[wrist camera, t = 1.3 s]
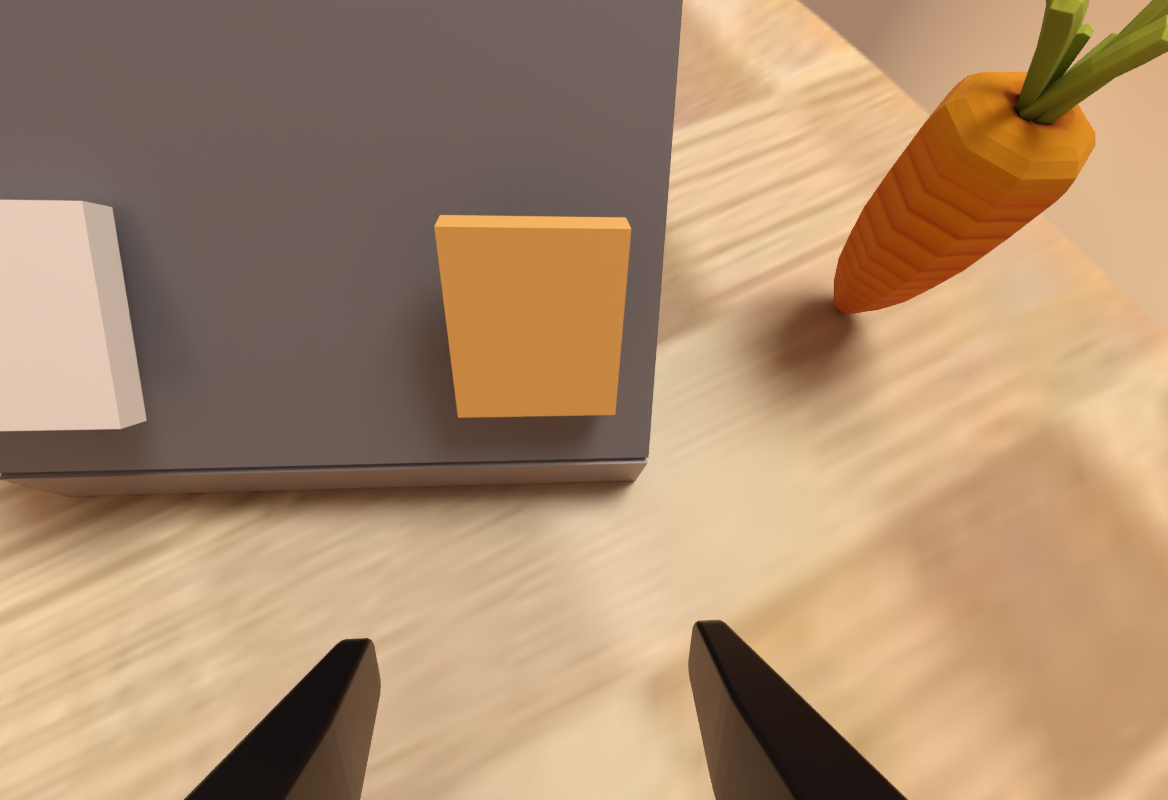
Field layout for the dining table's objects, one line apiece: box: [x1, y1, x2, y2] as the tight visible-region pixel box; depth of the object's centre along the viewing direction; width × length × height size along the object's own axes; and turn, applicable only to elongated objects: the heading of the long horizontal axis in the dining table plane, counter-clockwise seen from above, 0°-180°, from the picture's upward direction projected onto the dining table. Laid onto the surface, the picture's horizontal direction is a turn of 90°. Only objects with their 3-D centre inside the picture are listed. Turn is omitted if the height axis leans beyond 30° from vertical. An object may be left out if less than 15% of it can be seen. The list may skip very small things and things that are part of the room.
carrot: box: [834, 0, 1168, 314], centre depth 19 cm, size 5×5×15 cm
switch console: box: [0, 0, 683, 497], centre depth 18 cm, size 12×22×13 cm, turn 93°
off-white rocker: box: [0, 200, 147, 431], centre depth 15 cm, size 5×5×5 cm
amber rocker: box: [434, 215, 631, 418], centre depth 16 cm, size 5×5×5 cm
